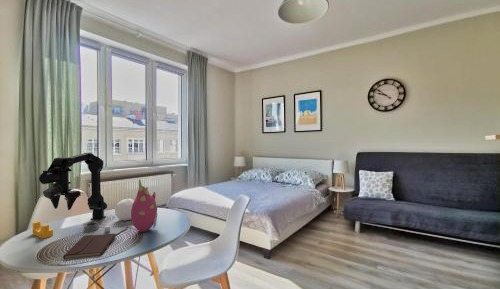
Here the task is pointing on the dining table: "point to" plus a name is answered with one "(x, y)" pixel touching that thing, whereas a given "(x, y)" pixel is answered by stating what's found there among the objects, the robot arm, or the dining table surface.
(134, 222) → the pink dragon fruit
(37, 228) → the pipe clamp
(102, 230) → the gray square plate
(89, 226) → the ring
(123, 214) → the geodesic sphere
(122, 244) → the dining table surface
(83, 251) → the notebook
